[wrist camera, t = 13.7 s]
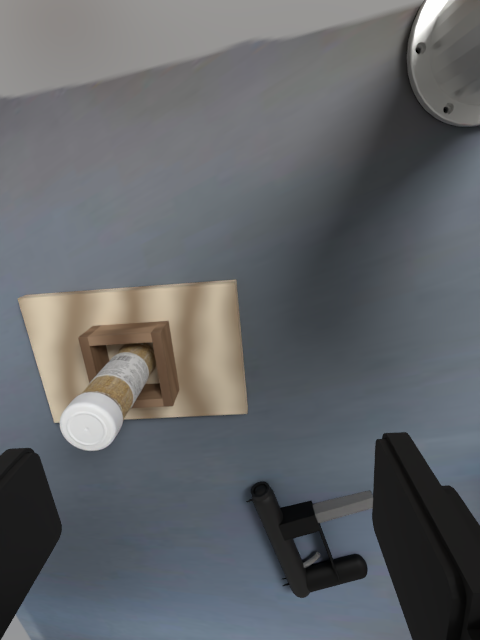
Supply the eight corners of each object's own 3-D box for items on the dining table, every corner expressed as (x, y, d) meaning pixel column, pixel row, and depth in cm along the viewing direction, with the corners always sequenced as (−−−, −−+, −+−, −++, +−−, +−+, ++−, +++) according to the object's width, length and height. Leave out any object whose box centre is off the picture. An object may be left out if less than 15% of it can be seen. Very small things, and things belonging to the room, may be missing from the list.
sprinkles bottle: (118, 372, 42) (58, 449, 29) (119, 336, 40) (55, 400, 27) (157, 377, 42) (114, 457, 29) (159, 341, 40) (115, 408, 27)
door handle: (364, 466, 44) (241, 503, 45) (398, 577, 50) (288, 606, 51) (356, 449, 47) (240, 483, 48) (388, 555, 53) (285, 583, 54)
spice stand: (236, 279, 39) (233, 291, 34) (247, 406, 44) (246, 432, 39) (25, 295, 41) (-5, 308, 36) (60, 415, 46) (38, 441, 41)
